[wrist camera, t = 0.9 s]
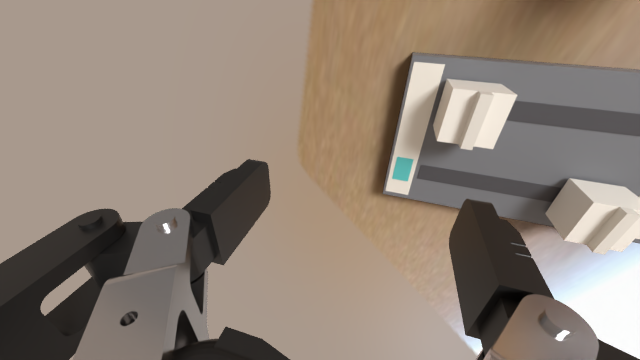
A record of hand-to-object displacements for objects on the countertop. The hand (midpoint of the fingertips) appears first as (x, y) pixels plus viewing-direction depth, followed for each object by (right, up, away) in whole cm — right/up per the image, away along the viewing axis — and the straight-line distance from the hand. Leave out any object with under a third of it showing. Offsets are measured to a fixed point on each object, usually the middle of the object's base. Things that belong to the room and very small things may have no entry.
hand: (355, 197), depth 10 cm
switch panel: (+18, +4, +14) cm, 23 cm away
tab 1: (+11, +7, +11) cm, 17 cm away
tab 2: (+22, -1, +13) cm, 25 cm away
